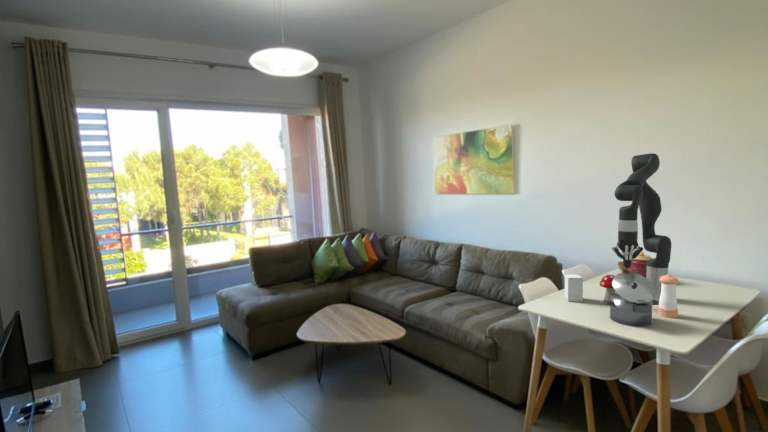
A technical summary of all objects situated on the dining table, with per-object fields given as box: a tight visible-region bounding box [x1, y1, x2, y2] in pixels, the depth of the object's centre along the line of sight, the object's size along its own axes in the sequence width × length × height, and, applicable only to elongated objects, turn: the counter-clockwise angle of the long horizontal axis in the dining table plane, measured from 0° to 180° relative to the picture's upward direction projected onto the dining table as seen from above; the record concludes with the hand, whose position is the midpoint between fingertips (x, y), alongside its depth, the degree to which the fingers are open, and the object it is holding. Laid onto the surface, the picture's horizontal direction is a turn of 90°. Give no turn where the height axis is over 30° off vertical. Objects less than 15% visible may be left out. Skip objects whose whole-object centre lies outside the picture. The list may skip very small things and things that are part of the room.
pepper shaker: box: [657, 273, 679, 319], centre depth 182 cm, size 7×7×19 cm
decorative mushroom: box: [599, 274, 616, 307], centre depth 200 cm, size 10×9×15 cm
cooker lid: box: [612, 261, 656, 305], centre depth 177 cm, size 17×23×3 cm
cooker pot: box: [603, 292, 659, 328], centre depth 177 cm, size 22×18×10 cm
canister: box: [629, 251, 654, 278], centre depth 238 cm, size 13×13×18 cm
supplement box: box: [564, 274, 584, 303], centre depth 209 cm, size 7×7×13 cm
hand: (627, 267), depth 180 cm, fingers closed
